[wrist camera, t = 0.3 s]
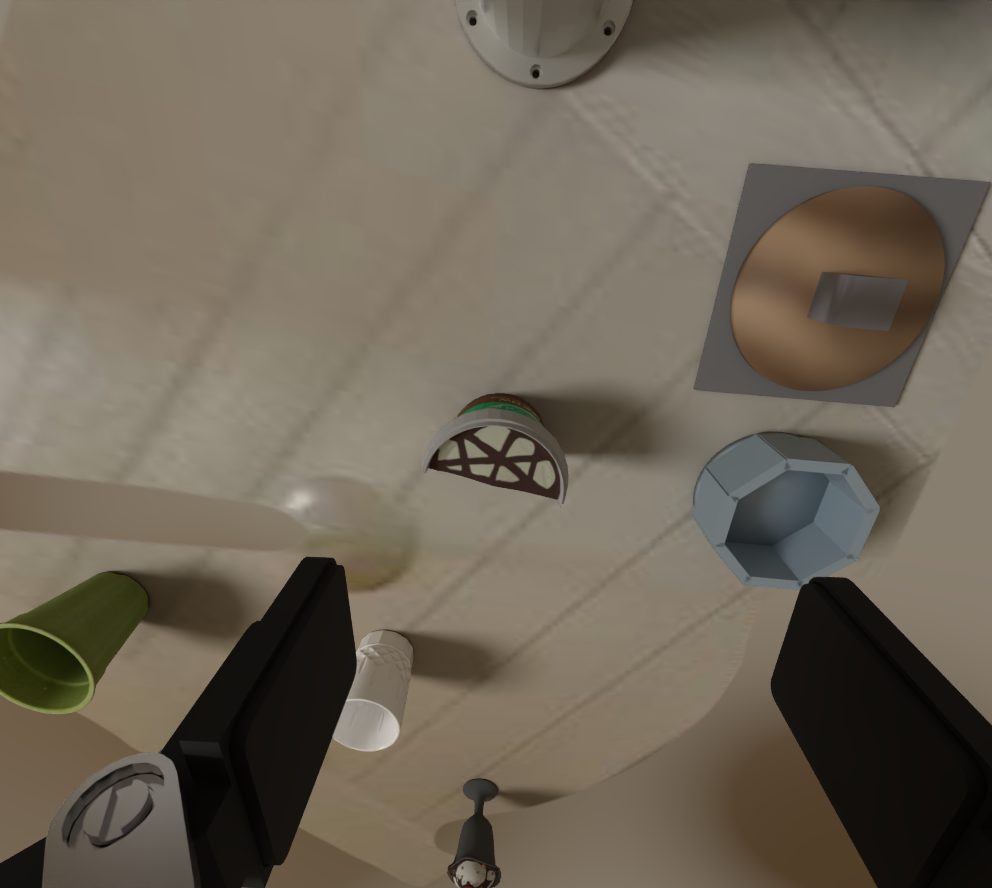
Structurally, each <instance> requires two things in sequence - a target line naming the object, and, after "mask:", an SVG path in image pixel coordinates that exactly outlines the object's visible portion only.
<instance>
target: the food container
mask: <svg viewBox="0 0 992 888" xmlns="http://www.w3.org/2000/svg"><path fill="white" fill-rule="evenodd" d="M428 468H430V469H434V470H437V471H444V472H448V473H452V474H456V475H460V476H463V477H467V478H470V479H473V480H476V481H479V482H482V483H486V484H489V485H492V486H497V487H502V488H508V489H514V490H519V491H524V492H528V493H533V494H537V495H541V496H545V497H549V498H553V499H557V500H558V503H559V506H560V507H561V505H562V504H563V503H564V500H565V496H566V492H567V487H568V467H567V463H566V459H565V456H564V453H563V451H562V449H561V447H560V445H559V444H558V442H557V441H556V439H555V438H554V437H553V435H552V434H551V433H550V432H549V431H548V430H547V429H546V428H545V427H544V425H543V422H542V420H541V418H540V416H539V414H538V413H537V412H536V411H535V410H534V409H533V407H532V406H531V405H530V404H529V403H527V402H525V401H524V400H522V399H520V398H519V397H516V396H513V395H509V394H498V393H495V394H488V395H485V396H482V397H479V398H477V399H475V400H473V401H472V402H470V403H469V404H468V405H467V406H466V407H465V408H463V409H462V411H461V412H460V413H459V415H458V416H457V418H455V419H453V420H451V421H450V422H449V423H447V424H446V425H444V426H443V427H442V428H441V429H440V430H439V431H438V432H437V433H436V434H435V435H434V437H433V438H432V439H431V441H430V442H429V444H428V446H427V448H426V450H425V452H424V455H423V458H422V469H423V470H424V473H423V474H425V472H426V471H427V469H428Z"/></svg>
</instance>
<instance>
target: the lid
mask: <svg viewBox="0 0 992 888" xmlns="http://www.w3.org/2000/svg"><path fill="white" fill-rule="evenodd" d="M944 265H945V263H944V249H943V244H942V240H941V236H940V234H939V231H938V229H937V226H936V225H935V223H934V221H933V220H932V218H931V216H930V215H929V214H928V213H927V212H926V211H925V209H924V208H923V207H922V206H921V205H919V204H918V203H917V202H916V201H914V200H913V199H912V198H910V197H908V196H906V195H904V194H902V193H900V192H897V191H894V190H891V189H887V188H881V187H875V186H859V187H851V188H844V189H838V190H834V191H830V192H826V193H823V194H820V195H818V196H815V197H813V198H810V199H808V200H806V201H804V202H803V203H801V204H799V205H797V206H795V207H794V208H792V209H791V210H789V211H788V212H787V213H785V214H784V215H782V216H781V217H780V218H779V219H778V220H776V221H775V222H774V223H773V224H772V225H771V226H770V227H769V228H768V229H767V230H766V231H765V232H764V233H763V234H762V235H761V236H760V238H759V239H758V240H757V242H756V243H755V244H754V246H753V247H752V248H751V250H750V251H749V253H748V255H747V256H746V258H745V260H744V261H743V264H742V266H741V268H740V270H739V272H738V275H737V278H736V281H735V284H734V287H733V291H732V297H731V304H730V322H731V329H732V334H733V338H734V340H735V343H736V346H737V348H738V350H739V352H740V353H741V355H742V357H743V358H744V359H745V361H746V362H747V363H748V364H749V366H751V367H752V368H753V369H754V370H755V371H756V372H757V373H759V374H760V375H762V376H763V377H765V378H766V379H768V380H770V381H772V382H774V383H776V384H778V385H780V386H783V387H786V388H790V389H794V390H800V391H826V390H832V389H837V388H841V387H845V386H848V385H851V384H854V383H856V382H858V381H861V380H863V379H865V378H867V377H869V376H871V375H873V374H874V373H876V372H878V371H880V370H881V369H882V368H884V367H885V366H887V365H888V364H889V363H891V362H892V361H893V360H894V359H895V358H897V357H898V356H899V355H900V354H901V353H902V352H903V351H904V350H905V349H906V348H907V347H908V346H909V345H910V344H911V343H912V342H913V341H914V339H915V338H916V337H917V335H918V334H919V333H920V332H921V330H922V329H923V327H924V325H925V324H926V322H927V321H928V319H929V317H930V315H931V313H932V311H933V309H934V307H935V305H936V302H937V299H938V297H939V294H940V291H941V286H942V282H943V276H944Z"/></svg>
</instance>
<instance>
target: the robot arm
mask: <svg viewBox="0 0 992 888" xmlns="http://www.w3.org/2000/svg"><path fill="white" fill-rule="evenodd" d="M455 2H456V7H457V11H458V15H459V18H460V21H461V24H462V27H463V29H464V31H465V33H466V36H467V38H468V40H469V42H470V44H471V45H472V47H473V48H474V50H475V51H476V53H477V54H478V56H479V57H480V59H481V60H482V61H483V62H484V63H485V64H486V65H487V66H488V67H489V68H490V69H491V70H492V71H493V72H495V73H496V74H498V75H499V76H501V77H502V78H504V79H506V80H507V81H509V82H512V83H515V84H517V85H520V86H523V87H530V88H537V89H541V88H552V87H557V86H560V85H563V84H566V83H569V82H572V81H573V80H575V79H577V78H579V77H580V76H582V75H584V74H586V73H587V72H588V71H589V70H590V69H592V68H593V67H594V66H595V65H596V64H597V63H598V62H600V61H601V59H602V58H603V57H604V56H605V54H606V53H607V52H608V51H609V50H610V48H611V47H612V46H613V44H614V42H615V41H616V39H617V37H618V36H619V34H620V32H621V30H622V28H623V26H624V24H625V22H626V20H627V17H628V15H629V13H630V10H631V7H632V3H633V0H455ZM472 19H475V20H476V21H477V23H476V25H474V26H471V25H470V21H471V20H472ZM605 29H608V30H610V35H609V36H606V35H605V34H604V30H605ZM535 71H537V72H538V73H539V77H538V78H534V77H533V76H532V74H533V73H534V72H535ZM356 669H357V657H356V650H355V643H354V635H353V628H352V621H351V613H350V606H349V599H348V591H347V584H346V577H345V570H344V567H343V566H342V565H337V564H336V561H335V559H334V558H326V557H305V558H304V559H303V560H302V561H301V562H300V564H299V565H298V567H297V568H296V570H295V571H294V573H293V574H292V575H291V577H290V578H289V580H288V581H287V583H286V584H285V586H284V587H283V589H282V590H281V592H280V593H279V594H278V596H277V597H276V599H275V600H274V602H273V603H272V605H271V606H270V608H269V609H268V611H267V612H266V613H265V615H264V616H263V618H262V619H261V621H256V622H255V623H253V624H252V625H251V626H250V627H249V628H248V629H247V630H246V632H245V633H244V634H243V636H242V637H241V639H240V640H239V641H238V643H237V644H236V646H235V647H234V649H233V650H232V651H231V653H230V654H229V656H228V657H227V659H226V660H225V661H224V663H223V664H222V666H221V667H220V668H219V670H218V671H217V673H216V674H215V676H214V677H213V678H212V680H211V681H210V683H209V684H208V686H207V687H206V688H205V690H204V691H203V693H202V694H201V695H200V697H199V698H198V700H197V701H196V703H195V704H194V705H193V707H192V708H191V710H190V711H189V713H188V714H187V715H186V717H185V718H184V720H183V721H182V722H181V724H180V725H179V727H178V728H177V730H176V731H175V732H174V734H173V735H172V737H171V738H170V739H169V741H168V742H167V744H166V745H165V747H164V748H163V749H162V751H161V752H160V754H157V753H151V752H147V753H141V754H134V755H131V756H128V757H125V758H123V759H120V760H117V761H115V762H113V763H111V764H109V765H108V766H106V767H104V768H103V769H101V770H99V771H98V772H96V773H94V774H93V775H92V776H91V777H89V778H88V779H87V780H86V781H84V782H83V783H82V784H81V785H79V786H78V787H77V788H76V789H75V790H74V791H73V792H72V794H71V795H70V796H69V797H68V798H67V799H66V800H65V801H64V803H63V804H62V805H61V806H60V808H59V810H58V811H57V813H56V815H55V817H54V818H53V820H52V821H51V823H50V827H49V831H48V835H47V837H45V838H43V839H42V840H40V841H38V842H36V843H35V844H33V845H31V846H30V847H28V848H26V849H24V850H23V851H21V852H19V853H17V854H16V855H14V856H12V857H10V858H9V859H7V860H5V861H3V862H2V863H0V888H241V887H248V888H265V886H266V883H267V881H268V878H269V876H270V873H271V871H272V868H273V866H274V865H281V864H282V863H283V862H284V860H285V859H286V857H287V855H288V852H289V850H290V847H291V845H292V842H293V839H294V837H295V834H296V831H297V829H298V826H299V824H300V821H301V818H302V816H303V813H304V810H305V808H306V805H307V803H308V800H309V797H310V795H311V792H312V789H313V787H314V784H315V781H316V779H317V776H318V774H319V771H320V768H321V766H322V763H323V760H324V758H325V755H326V752H327V750H328V747H329V745H330V742H331V739H332V737H333V734H334V731H335V729H336V726H337V723H338V721H339V718H340V716H341V713H342V710H343V708H344V705H345V702H346V700H347V697H348V695H349V692H350V689H351V687H352V684H353V681H354V678H355V675H356ZM771 691H772V695H773V698H774V700H775V702H776V704H777V706H778V708H779V709H780V711H781V713H782V715H783V717H784V718H785V720H786V722H787V724H788V726H789V728H790V729H791V731H792V733H793V735H794V737H795V738H796V740H797V742H798V744H799V746H800V747H801V749H802V751H803V753H804V755H805V757H806V758H807V760H808V762H809V764H810V765H811V767H812V769H813V771H814V773H815V775H816V776H817V778H818V780H819V782H820V784H821V786H822V787H823V789H824V791H825V793H826V795H827V796H828V798H829V800H830V802H831V804H832V806H833V807H834V809H835V811H836V813H837V815H838V816H839V818H840V820H841V822H842V824H843V825H844V827H845V829H846V831H847V833H848V834H849V836H850V838H851V840H852V842H853V844H854V846H855V847H856V849H857V851H858V853H859V855H860V856H861V858H862V860H863V862H864V864H865V865H866V867H867V869H868V871H869V873H870V875H871V876H872V878H873V879H874V882H875V883H876V885H877V887H878V888H992V725H991V724H990V723H989V722H988V721H987V720H986V719H985V718H984V717H983V716H982V715H981V714H980V713H979V712H978V711H977V710H976V709H975V708H974V707H973V705H971V703H970V702H969V701H968V700H967V699H966V698H965V697H964V696H963V695H962V694H961V693H960V692H959V691H958V690H957V689H956V688H955V687H954V686H953V685H952V684H951V683H950V682H949V681H948V680H947V679H946V678H945V677H944V676H943V675H942V674H941V673H940V672H939V670H938V669H937V668H936V667H935V666H934V665H933V664H932V663H931V662H930V661H929V660H928V659H927V658H926V657H925V656H924V655H923V654H922V653H921V652H920V651H919V650H918V649H917V648H916V647H915V646H914V645H913V644H912V643H911V642H910V641H909V640H908V638H906V636H905V635H904V634H903V633H902V632H901V631H900V630H899V629H898V628H897V627H896V626H895V625H894V624H893V623H892V622H891V621H890V620H889V619H888V618H887V617H886V616H885V615H884V614H883V613H882V612H881V611H880V610H879V609H878V608H877V607H876V606H875V604H874V603H873V602H872V601H871V600H869V598H868V597H867V596H866V595H865V594H864V593H863V592H862V591H861V590H860V589H859V588H858V587H857V586H856V585H855V584H854V583H853V582H852V581H851V580H849V579H847V578H840V577H813V578H812V579H811V580H810V581H809V583H808V584H804V585H803V586H802V587H801V589H800V592H799V595H798V598H797V601H796V604H795V608H794V610H793V613H792V616H791V620H790V623H789V626H788V629H787V632H786V635H785V638H784V642H783V645H782V648H781V651H780V654H779V657H778V660H777V663H776V666H775V669H774V672H773V676H772V679H771Z"/></svg>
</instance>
